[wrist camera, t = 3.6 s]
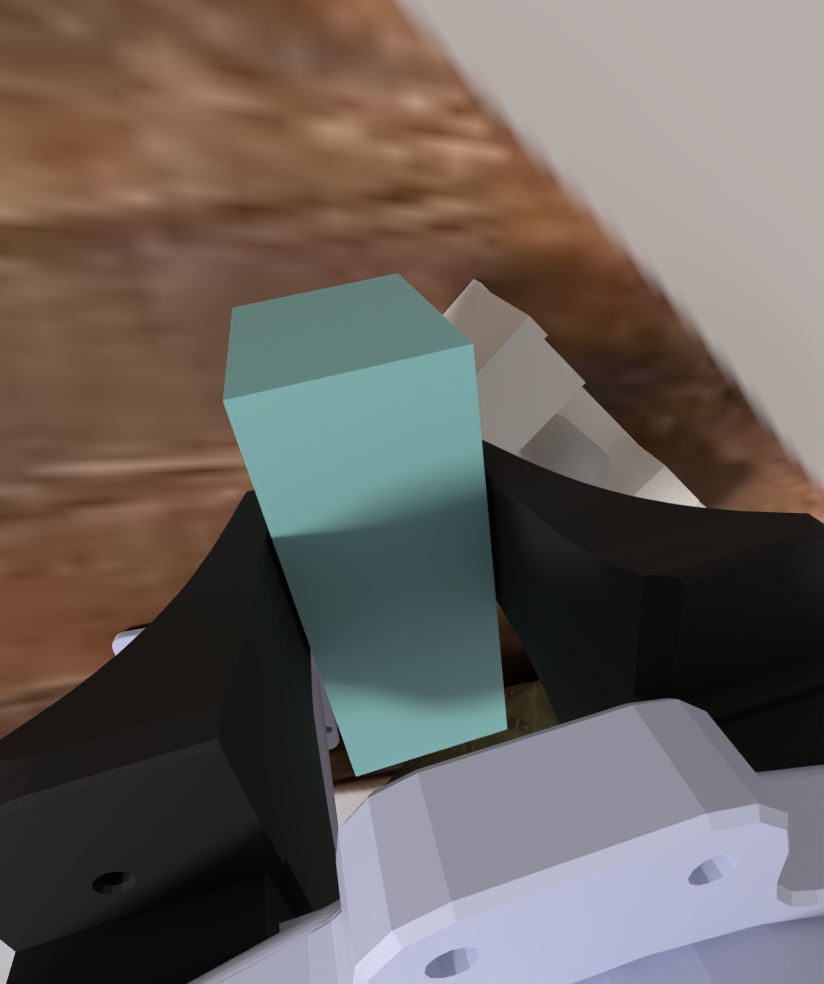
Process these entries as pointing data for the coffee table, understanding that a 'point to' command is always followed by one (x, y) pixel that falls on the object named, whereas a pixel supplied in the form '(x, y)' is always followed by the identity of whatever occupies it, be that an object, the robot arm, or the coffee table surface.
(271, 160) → the coffee table surface
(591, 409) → the stand
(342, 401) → the teal block
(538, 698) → the decorative rock
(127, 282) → the coffee table surface
